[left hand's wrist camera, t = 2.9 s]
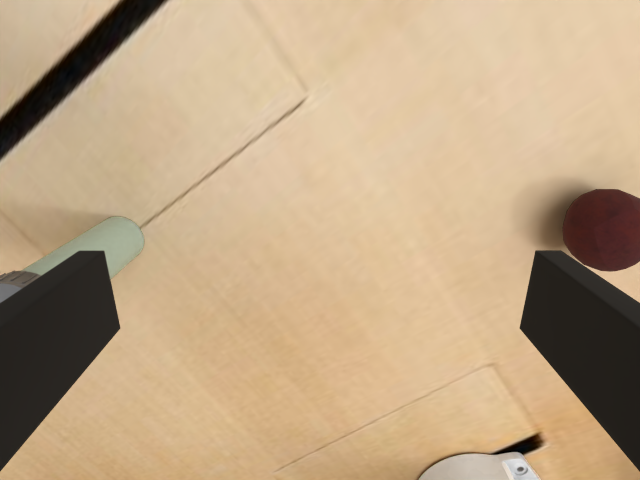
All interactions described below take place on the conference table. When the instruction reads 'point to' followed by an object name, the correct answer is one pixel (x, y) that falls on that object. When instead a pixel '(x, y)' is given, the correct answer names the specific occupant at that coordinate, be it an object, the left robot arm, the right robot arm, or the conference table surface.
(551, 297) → the left robot arm
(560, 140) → the conference table surface
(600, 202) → the dark red ball
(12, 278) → the lid
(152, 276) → the conference table surface
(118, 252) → the jar
